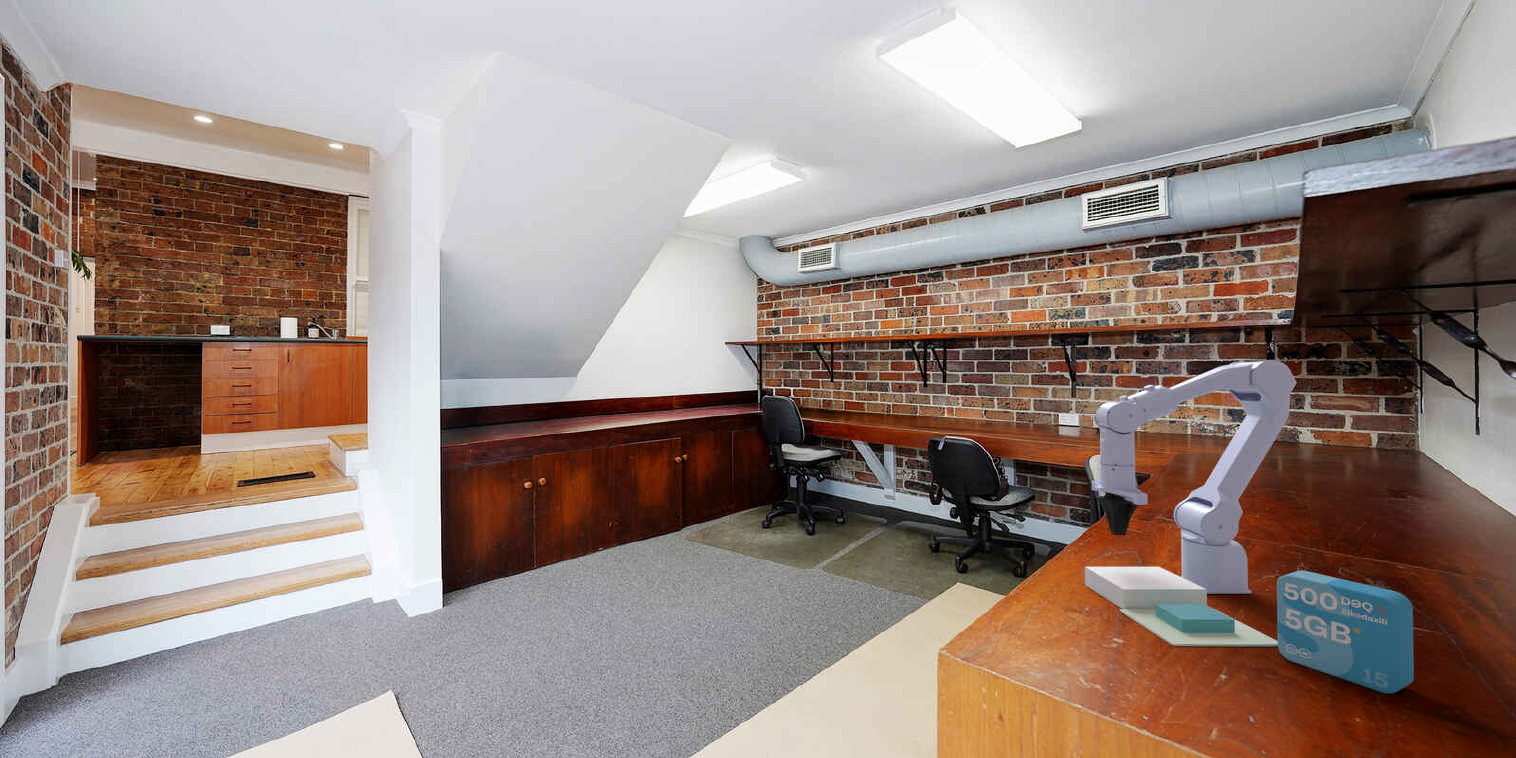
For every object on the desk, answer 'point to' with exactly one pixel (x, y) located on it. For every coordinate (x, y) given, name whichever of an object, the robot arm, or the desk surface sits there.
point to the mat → (1176, 638)
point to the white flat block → (1143, 587)
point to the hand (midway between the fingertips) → (1118, 534)
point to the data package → (1346, 630)
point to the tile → (1195, 618)
